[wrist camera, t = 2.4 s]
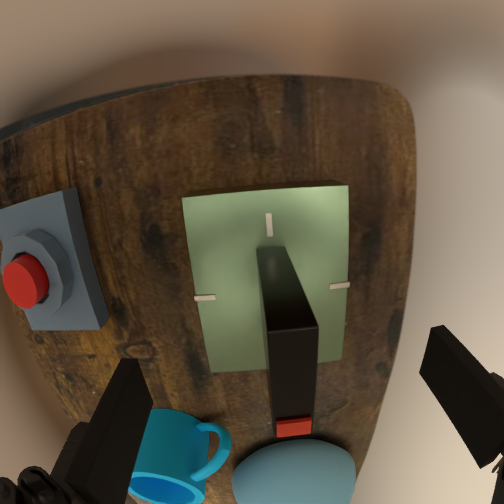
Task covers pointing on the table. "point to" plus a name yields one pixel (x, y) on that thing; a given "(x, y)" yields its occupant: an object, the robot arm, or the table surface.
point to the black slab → (287, 343)
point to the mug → (176, 458)
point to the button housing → (56, 260)
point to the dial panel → (245, 262)
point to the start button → (25, 281)
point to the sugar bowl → (295, 474)
